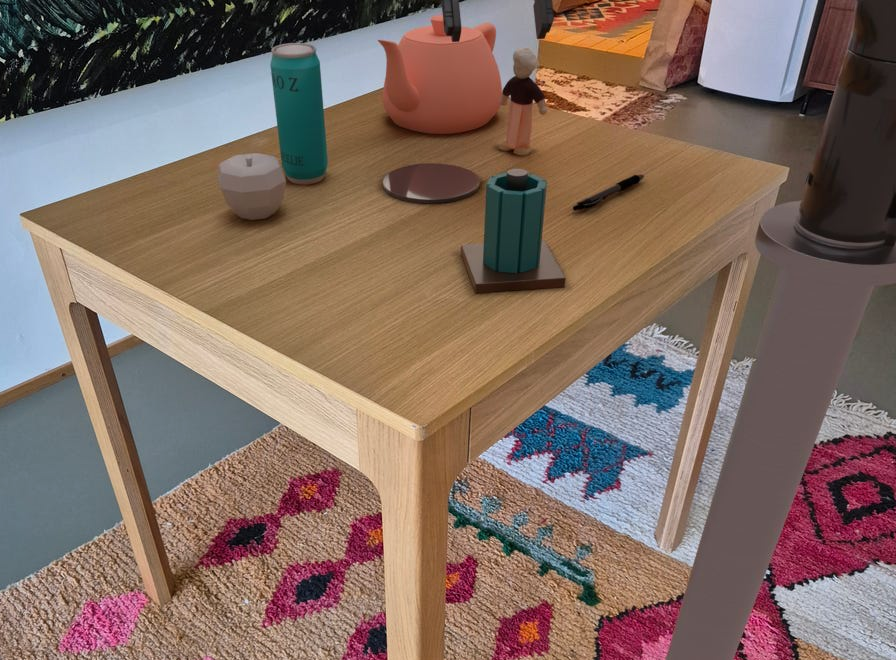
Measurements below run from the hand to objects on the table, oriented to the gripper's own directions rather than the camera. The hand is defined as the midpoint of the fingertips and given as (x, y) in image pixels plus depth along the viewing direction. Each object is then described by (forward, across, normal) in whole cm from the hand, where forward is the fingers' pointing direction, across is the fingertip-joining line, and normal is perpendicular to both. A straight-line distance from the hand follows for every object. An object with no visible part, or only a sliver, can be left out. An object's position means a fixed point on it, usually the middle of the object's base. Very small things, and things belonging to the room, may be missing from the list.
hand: (500, 35), depth 81 cm
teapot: (-13, 0, +41) cm, 43 cm away
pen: (+10, +16, +18) cm, 26 cm away
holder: (+21, 0, +6) cm, 22 cm away
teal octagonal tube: (+21, 0, +5) cm, 21 cm away
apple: (+9, -26, +19) cm, 34 cm away
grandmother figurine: (-3, +8, +30) cm, 32 cm away
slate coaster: (+4, -5, +23) cm, 24 cm away
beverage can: (+1, -20, +27) cm, 34 cm away
